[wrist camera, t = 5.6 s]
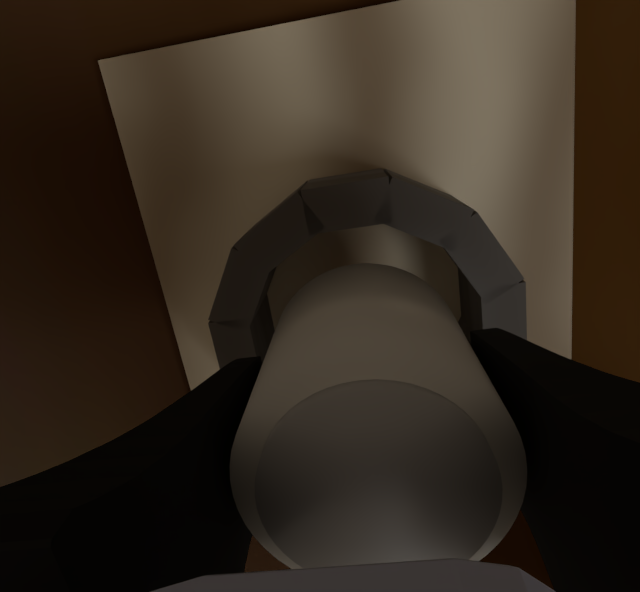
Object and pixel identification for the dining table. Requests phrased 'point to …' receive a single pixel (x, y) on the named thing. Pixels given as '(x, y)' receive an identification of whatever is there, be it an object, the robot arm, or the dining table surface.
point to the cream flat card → (357, 165)
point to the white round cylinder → (374, 430)
